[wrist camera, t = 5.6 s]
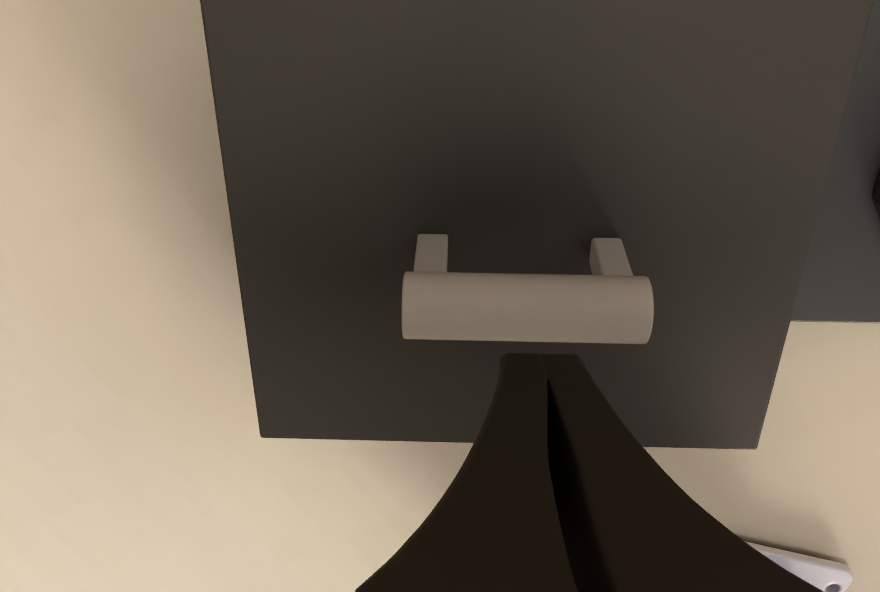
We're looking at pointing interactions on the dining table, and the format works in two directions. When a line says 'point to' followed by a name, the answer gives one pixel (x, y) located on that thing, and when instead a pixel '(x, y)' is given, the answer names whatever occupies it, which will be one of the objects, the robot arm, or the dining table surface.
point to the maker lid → (524, 202)
